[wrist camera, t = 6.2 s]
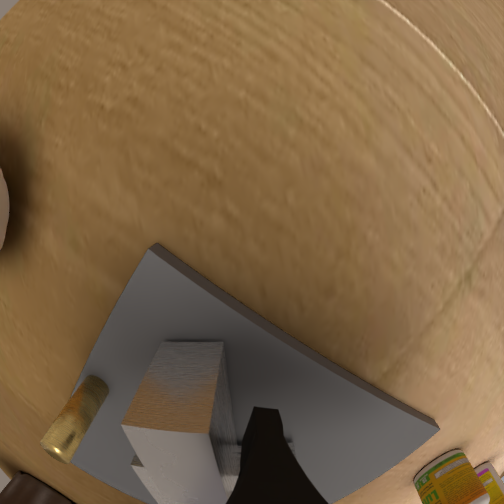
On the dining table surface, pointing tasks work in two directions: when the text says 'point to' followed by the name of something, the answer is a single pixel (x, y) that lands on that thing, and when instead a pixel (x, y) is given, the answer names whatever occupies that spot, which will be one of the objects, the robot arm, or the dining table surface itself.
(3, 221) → the white squeeze bulb
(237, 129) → the dining table surface
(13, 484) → the plant pot
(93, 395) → the dowel
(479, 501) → the supplement bottle
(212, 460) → the square nut with handle
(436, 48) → the dining table surface
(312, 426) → the base
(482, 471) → the supplement bottle
